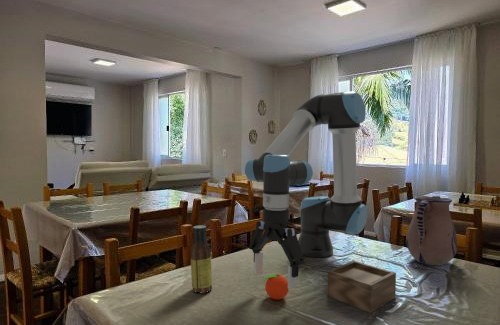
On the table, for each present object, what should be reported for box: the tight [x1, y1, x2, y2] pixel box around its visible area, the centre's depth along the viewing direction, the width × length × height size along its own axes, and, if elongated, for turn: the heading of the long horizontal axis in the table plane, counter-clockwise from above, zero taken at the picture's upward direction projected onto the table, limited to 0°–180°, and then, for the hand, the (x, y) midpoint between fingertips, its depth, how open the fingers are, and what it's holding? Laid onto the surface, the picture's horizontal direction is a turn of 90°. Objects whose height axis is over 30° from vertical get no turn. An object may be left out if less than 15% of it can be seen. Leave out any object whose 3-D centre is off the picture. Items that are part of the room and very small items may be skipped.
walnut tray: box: [326, 260, 397, 314], centre depth 103 cm, size 14×14×8 cm
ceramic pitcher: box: [405, 195, 458, 266], centre depth 132 cm, size 18×21×25 cm
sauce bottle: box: [190, 224, 213, 293], centre depth 107 cm, size 7×6×20 cm
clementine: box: [262, 273, 290, 300], centre depth 102 cm, size 8×7×7 cm
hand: (274, 280), depth 101 cm, fingers open, 13 cm apart
